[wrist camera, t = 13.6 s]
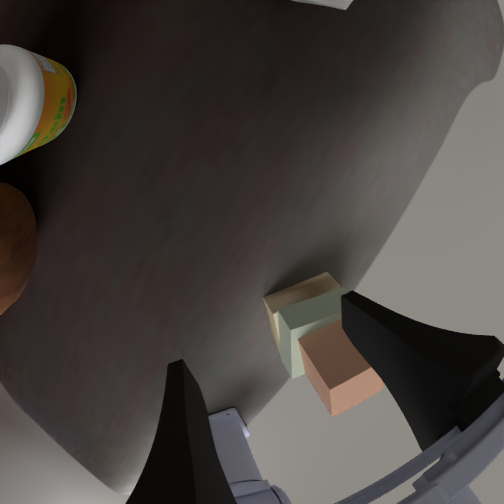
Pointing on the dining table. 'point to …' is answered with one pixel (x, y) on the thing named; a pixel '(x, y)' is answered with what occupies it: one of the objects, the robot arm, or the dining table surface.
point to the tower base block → (296, 298)
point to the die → (329, 3)
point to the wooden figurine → (15, 243)
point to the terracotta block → (337, 369)
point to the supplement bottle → (32, 101)
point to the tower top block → (305, 325)
